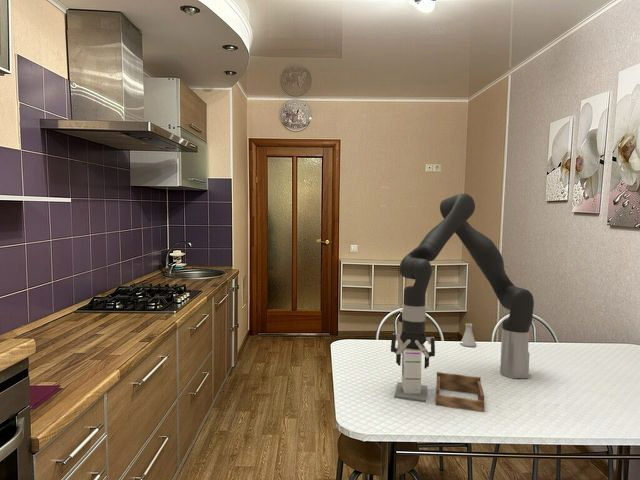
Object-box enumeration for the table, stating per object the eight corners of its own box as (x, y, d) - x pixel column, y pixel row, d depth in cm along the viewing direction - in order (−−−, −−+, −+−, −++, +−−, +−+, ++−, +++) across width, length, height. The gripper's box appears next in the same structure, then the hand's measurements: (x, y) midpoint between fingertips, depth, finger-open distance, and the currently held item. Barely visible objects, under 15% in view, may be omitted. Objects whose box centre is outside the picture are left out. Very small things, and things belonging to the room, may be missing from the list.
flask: (476, 344, 192) (477, 323, 192) (476, 348, 185) (477, 326, 185) (460, 342, 194) (460, 321, 194) (459, 346, 188) (460, 325, 187)
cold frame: (479, 393, 135) (480, 377, 135) (484, 411, 122) (484, 394, 122) (436, 387, 139) (436, 371, 139) (435, 404, 126) (436, 387, 126)
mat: (427, 387, 139) (427, 385, 139) (426, 402, 128) (426, 400, 128) (397, 383, 142) (397, 381, 142) (394, 397, 130) (394, 395, 130)
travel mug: (411, 354, 174) (413, 313, 173) (394, 351, 178) (395, 310, 177) (418, 350, 180) (419, 310, 180) (401, 346, 185) (402, 307, 184)
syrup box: (421, 394, 132) (422, 350, 131) (403, 393, 132) (404, 349, 132) (418, 387, 138) (419, 345, 137) (400, 386, 138) (402, 344, 137)
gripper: (436, 317, 135) (434, 365, 136) (393, 313, 139) (391, 360, 140) (436, 322, 128) (434, 373, 129) (390, 318, 132) (389, 367, 133)
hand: (412, 366), depth 134 cm, fingers open, 8 cm apart
